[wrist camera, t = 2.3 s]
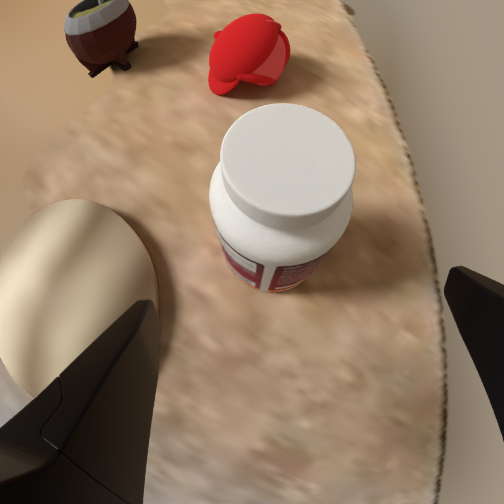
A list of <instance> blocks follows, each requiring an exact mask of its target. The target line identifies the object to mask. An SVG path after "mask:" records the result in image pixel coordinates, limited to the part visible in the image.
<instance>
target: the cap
mask: <svg viewBox="0 0 504 504" xmlns="http://www.w3.org/2000/svg"><path fill="white" fill-rule="evenodd" d="M280 29H281V25H280V24H279V23H277V22H275V21H274V20H273V19H272V18H271V17H269V16H267V15H264V14H249V15H245V16H242V17H240V18H238V19H236V20H234V21H233V22H231V23H230V24H229V25H228V26H226V27H225V28H224V29H223V30H222V31H217V32H216V33H215V34H214V38H215V39H216V40H215V42H214V44H213V46H212V48H211V52H210V56H209V65H210V71H209V77H208V81H209V87H210V89H211V91H212V92H213V93H214V94H216V95H223V94H226V93H228V92H229V91H231V90H232V89H233V88H234V87H235V86H236V85H237V84H238V83H239V81H240V80H242V81H246V82H250V83H255V84H258V85H262V86H266V85H273V84H274V83H275V82H276V81H277V79H278V78H279V76H280V74H281V73H282V71H283V69H284V68H285V66H286V64H287V62H288V60H289V57H290V44H289V41H288V38H287V36H286V35H285V33H284V32H282V31H281V30H280Z"/></svg>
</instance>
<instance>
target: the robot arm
mask: <svg viewBox="0 0 504 504" xmlns="http://www.w3.org/2000/svg"><path fill="white" fill-rule="evenodd" d="M444 295H445V298H446V300H447V303H448V305H449V307H450V310H451V312H452V315H453V317H454V319H455V322H456V324H457V327H458V330H459V332H460V334H461V336H462V339H463V341H464V343H465V345H466V347H467V349H468V351H469V353H470V356H471V358H472V360H473V362H474V364H475V366H476V369H477V371H478V373H479V376H480V378H481V381H482V383H483V385H484V388H485V390H486V393H487V395H488V398H489V400H490V403H491V405H492V408H493V411H494V414H495V417H496V419H497V422H498V425H499V428H500V431H501V434H502V437H503V441H504V285H503V284H501V283H499V282H497V281H495V280H492V279H490V278H488V277H486V276H483V275H481V274H479V273H477V272H475V271H472V270H470V269H468V268H466V267H463V266H457V267H453V268H451V269H450V271H449V274H448V278H447V281H446V284H445V287H444ZM159 347H160V321H159V318H158V315H157V312H156V308H155V305H154V303H153V301H152V300H151V299H144V300H137V301H136V302H135V303H134V304H133V305H132V306H131V307H129V308H128V309H127V310H126V311H125V312H124V313H123V314H122V315H121V316H120V317H119V318H118V319H116V320H115V321H114V322H113V323H112V324H111V325H110V326H109V327H108V328H107V329H106V330H105V331H104V332H103V333H102V334H101V335H100V336H98V337H97V338H96V339H95V340H94V341H93V342H92V343H91V344H90V345H89V346H88V347H87V348H86V349H85V350H84V351H83V352H82V353H81V354H80V355H79V356H78V357H77V358H76V359H75V360H74V361H72V362H71V363H70V364H69V365H68V366H67V367H66V368H65V369H64V370H63V371H62V372H61V373H60V374H59V377H58V376H57V377H56V378H55V379H54V380H53V381H52V382H51V383H50V384H49V385H48V386H47V387H46V388H45V389H44V390H43V391H42V392H41V393H40V394H39V395H38V396H37V397H36V398H34V399H33V400H32V401H31V402H30V403H29V404H28V405H26V406H25V407H24V408H23V409H22V410H21V411H20V412H18V413H17V414H16V415H15V416H14V417H13V418H11V419H10V420H9V421H8V422H7V423H6V424H4V425H3V426H2V427H1V428H0V504H143V495H144V484H145V473H146V464H147V455H148V446H149V438H150V430H151V422H152V415H153V408H154V401H155V394H156V388H157V381H158V369H159Z"/></svg>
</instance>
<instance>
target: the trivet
mask: <svg viewBox="0 0 504 504" xmlns="http://www.w3.org/2000/svg"><path fill="white" fill-rule="evenodd" d="M144 299H151V300H152V301H153V303H154V305H155V308H156V312H157V315H158V318H159V290H158V282H157V278H156V274H155V270H154V266H153V263H152V261H151V258H150V255H149V253H148V251H147V249H146V248H145V246H144V244H143V242H142V241H141V239H140V238H139V236H138V235H137V234H136V232H135V231H134V230H133V229H132V228H131V227H130V226H129V225H128V224H127V223H126V222H125V221H124V220H123V219H122V218H121V217H120V216H119V215H117V214H116V213H115V212H113V211H112V210H110V209H109V208H107V207H105V206H103V205H101V204H98V203H95V202H92V201H87V200H74V199H71V200H64V201H59V202H56V203H53V204H50V205H48V206H46V207H44V208H42V209H40V210H38V211H37V212H35V213H34V214H32V215H31V216H30V217H29V218H28V219H26V220H25V221H24V222H23V223H22V224H21V225H20V226H19V227H18V228H17V229H16V231H15V232H14V233H13V234H12V236H11V237H10V238H9V240H8V242H7V243H6V245H5V247H4V248H3V251H2V253H1V255H0V357H1V359H2V361H3V363H4V365H5V367H6V368H7V370H8V372H9V373H10V375H11V376H12V377H13V378H14V380H15V381H16V382H17V383H18V384H19V385H20V386H21V387H22V388H23V389H24V390H25V391H26V392H27V393H29V394H30V395H31V396H33V397H34V398H36V397H37V396H38V395H39V394H40V393H41V392H42V391H43V390H44V389H45V388H46V387H47V386H48V385H49V384H50V383H51V382H52V381H53V380H54V379H55V378H56V377H57V376H58V377H59V374H60V373H61V372H62V371H63V370H64V369H65V368H66V367H67V366H68V365H69V364H70V363H71V362H72V361H74V360H75V359H76V358H77V357H78V356H79V355H80V354H81V353H82V352H83V351H84V350H85V349H86V348H87V347H88V346H89V345H90V344H91V343H92V342H93V341H94V340H95V339H96V338H97V337H98V336H100V335H101V334H102V333H103V332H104V331H105V330H106V329H107V328H108V327H109V326H110V325H111V324H112V323H113V322H114V321H115V320H116V319H118V318H119V317H120V316H121V315H122V314H123V313H124V312H125V311H126V310H127V309H128V308H129V307H131V306H132V305H133V304H134V303H135V302H136V301H137V300H144Z"/></svg>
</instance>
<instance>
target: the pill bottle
mask: <svg viewBox="0 0 504 504" xmlns="http://www.w3.org/2000/svg"><path fill="white" fill-rule="evenodd" d="M355 171H356V161H355V154H354V151H353V148H352V145H351V143H350V141H349V139H348V137H347V136H346V135H345V133H344V132H343V131H342V129H341V128H340V127H339V126H338V125H337V124H336V123H335V122H334V121H332V120H331V119H330V118H328V117H327V116H325V115H324V114H322V113H320V112H318V111H316V110H314V109H311V108H309V107H306V106H301V105H296V104H289V103H278V104H270V105H265V106H261V107H258V108H256V109H253V110H251V111H249V112H247V113H245V114H244V115H242V116H241V117H240V118H239V119H237V120H236V121H235V122H234V123H233V124H232V126H231V127H230V128H229V130H228V131H227V133H226V135H225V137H224V139H223V142H222V146H221V153H220V162H219V163H218V165H217V167H216V169H215V171H214V173H213V176H212V179H211V183H210V192H209V199H210V208H211V212H212V216H213V220H214V223H215V226H216V230H217V233H218V236H219V239H220V242H221V246H222V249H223V252H224V255H225V258H226V261H227V263H228V265H229V267H230V269H231V270H232V272H233V273H234V274H235V276H236V277H237V278H238V279H239V280H241V281H242V282H243V283H244V284H246V285H248V286H250V287H252V288H254V289H257V290H260V291H264V292H280V291H284V290H288V289H291V288H293V287H295V286H297V285H299V284H300V283H302V282H303V281H304V280H305V279H306V278H308V276H309V275H310V274H311V273H312V272H313V271H314V269H315V268H316V267H317V266H318V264H319V263H320V262H321V261H322V260H323V259H324V257H325V256H326V255H327V254H328V252H329V251H330V250H331V249H332V248H333V246H334V245H335V244H336V243H337V242H338V240H339V239H340V237H341V236H342V234H343V233H344V231H345V229H346V227H347V225H348V223H349V221H350V217H351V213H352V208H353V193H352V187H351V186H352V183H353V180H354V177H355Z"/></svg>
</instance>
